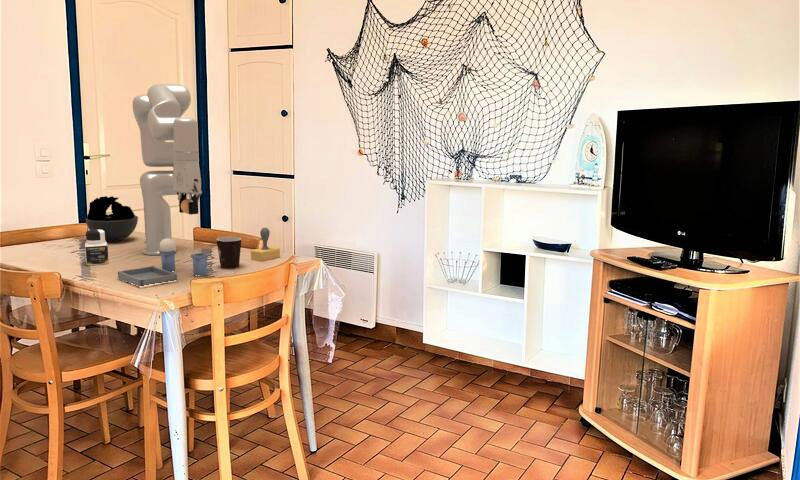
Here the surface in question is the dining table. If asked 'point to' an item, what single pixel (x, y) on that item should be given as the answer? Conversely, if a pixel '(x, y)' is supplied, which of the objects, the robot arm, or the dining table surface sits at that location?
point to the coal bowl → (111, 218)
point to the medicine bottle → (96, 248)
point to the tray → (146, 275)
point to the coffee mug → (229, 252)
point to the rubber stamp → (265, 249)
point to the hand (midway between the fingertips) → (188, 212)
